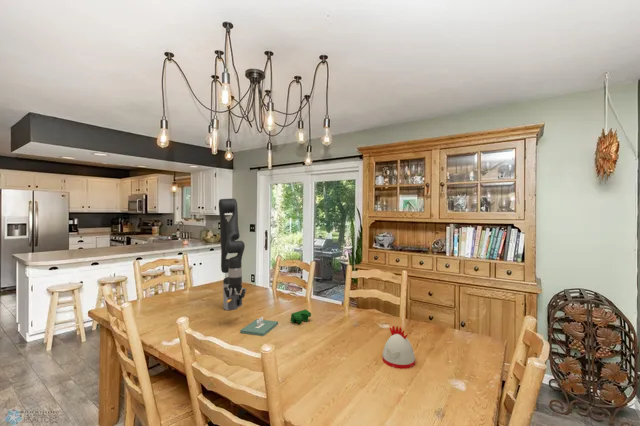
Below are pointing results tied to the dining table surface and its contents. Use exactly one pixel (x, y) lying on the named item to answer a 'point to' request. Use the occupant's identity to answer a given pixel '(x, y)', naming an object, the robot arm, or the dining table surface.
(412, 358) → the kitchen timer
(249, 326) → the header board
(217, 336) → the dining table surface
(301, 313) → the green toy animal
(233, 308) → the block
